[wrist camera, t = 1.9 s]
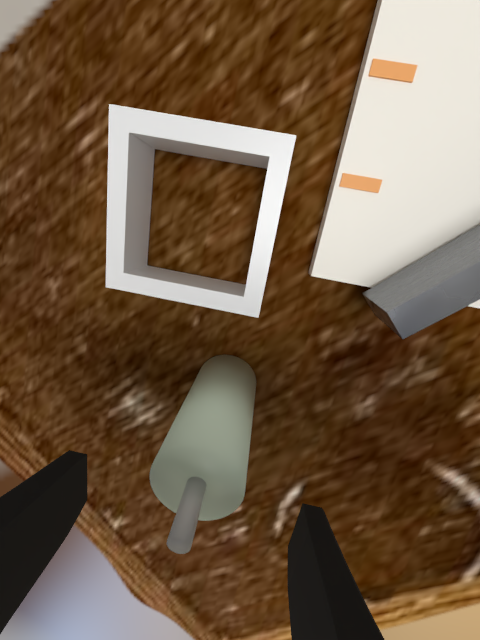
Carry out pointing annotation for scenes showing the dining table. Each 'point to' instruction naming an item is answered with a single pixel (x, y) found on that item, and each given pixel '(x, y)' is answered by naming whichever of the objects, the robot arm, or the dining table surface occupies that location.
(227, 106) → the dining table surface
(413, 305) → the dial lever
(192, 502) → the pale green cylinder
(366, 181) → the dial panel
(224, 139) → the tool holder
